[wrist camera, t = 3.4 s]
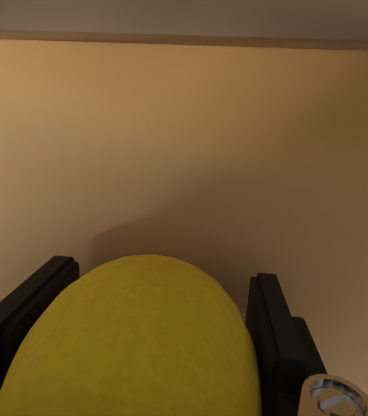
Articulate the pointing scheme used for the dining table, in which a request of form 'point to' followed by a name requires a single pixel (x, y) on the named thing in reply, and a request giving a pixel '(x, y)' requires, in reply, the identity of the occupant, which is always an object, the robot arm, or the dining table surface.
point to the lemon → (136, 347)
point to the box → (191, 22)
